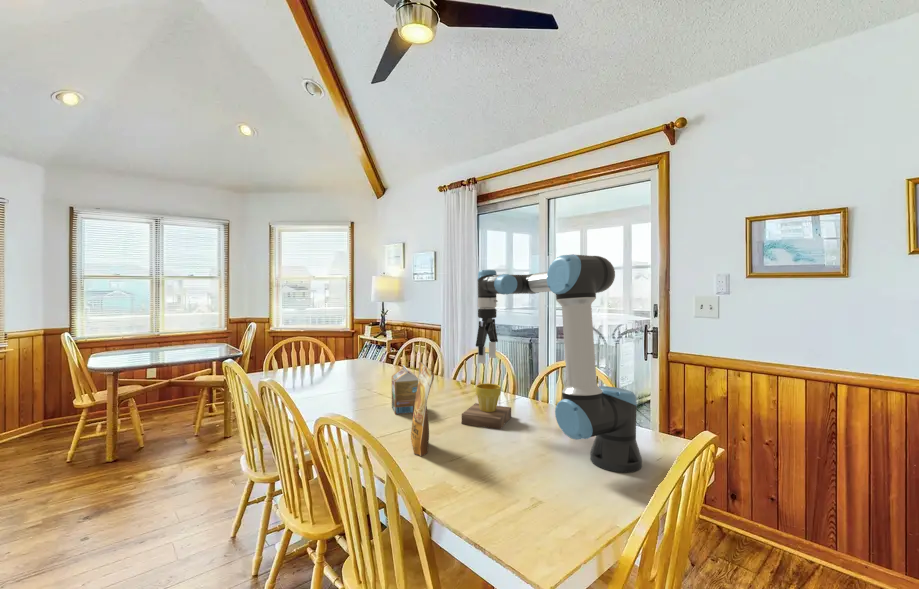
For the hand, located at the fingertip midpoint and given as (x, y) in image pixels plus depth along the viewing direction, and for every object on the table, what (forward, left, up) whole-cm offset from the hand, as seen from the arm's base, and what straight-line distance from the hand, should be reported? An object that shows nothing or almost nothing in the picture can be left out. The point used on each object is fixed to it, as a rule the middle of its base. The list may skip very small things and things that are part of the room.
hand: (487, 360), depth 171 cm
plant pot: (+1, 0, -21) cm, 21 cm away
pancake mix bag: (-35, +12, -25) cm, 45 cm away
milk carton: (0, +38, -25) cm, 45 cm away
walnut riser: (0, 0, -25) cm, 25 cm away
